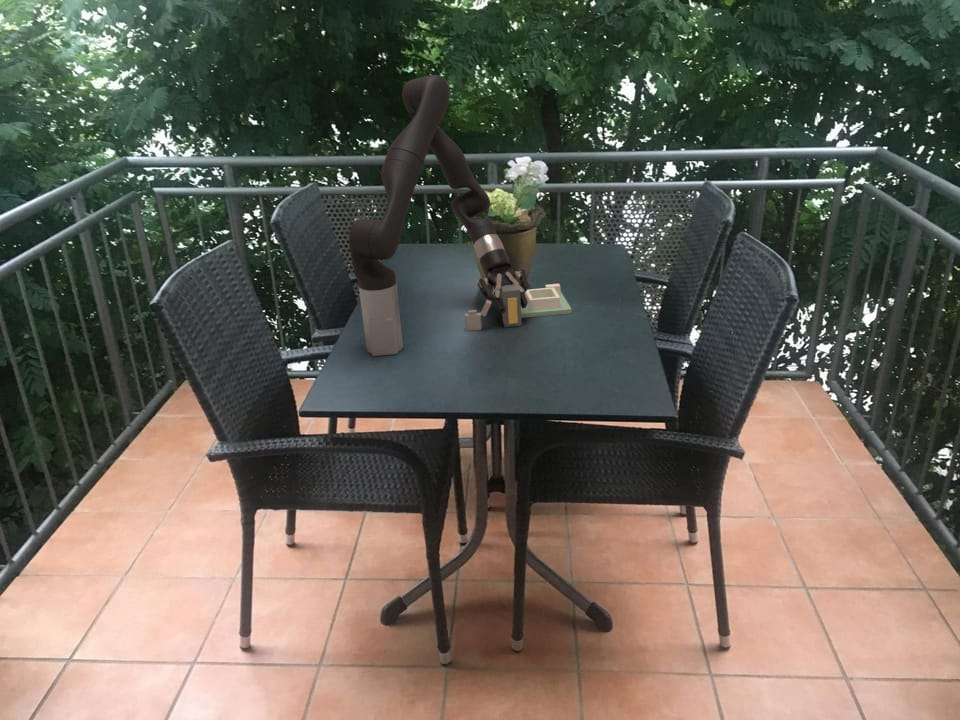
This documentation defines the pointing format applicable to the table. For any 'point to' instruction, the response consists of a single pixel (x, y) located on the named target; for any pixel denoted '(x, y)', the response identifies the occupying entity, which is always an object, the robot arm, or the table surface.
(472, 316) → the lighter
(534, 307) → the board
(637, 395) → the table surface
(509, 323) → the grey yellow block
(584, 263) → the table surface
